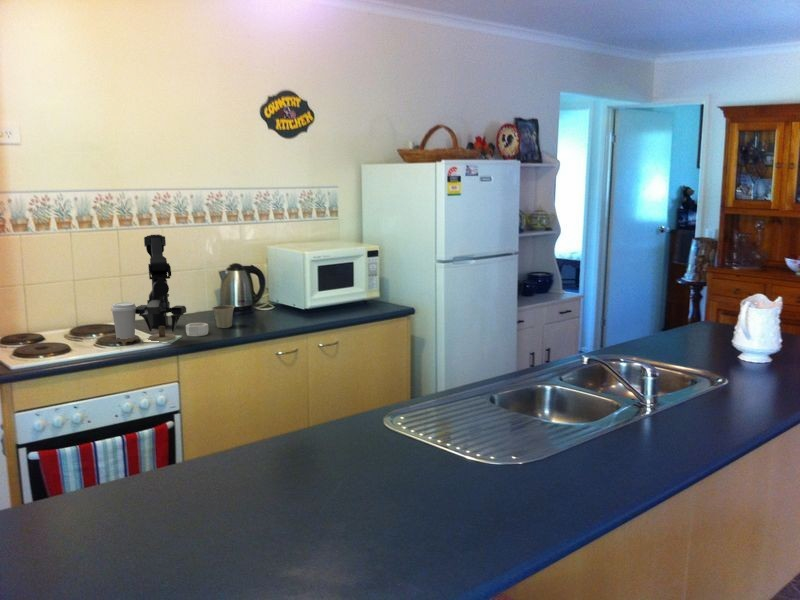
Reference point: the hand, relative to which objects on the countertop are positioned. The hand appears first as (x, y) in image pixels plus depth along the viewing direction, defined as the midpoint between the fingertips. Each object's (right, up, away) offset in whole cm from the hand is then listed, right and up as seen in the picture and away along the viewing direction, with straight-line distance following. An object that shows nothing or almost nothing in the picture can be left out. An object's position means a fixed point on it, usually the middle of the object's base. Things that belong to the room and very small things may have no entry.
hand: (162, 331), depth 291 cm
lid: (0, -3, 0) cm, 3 cm away
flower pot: (+18, 0, +26) cm, 32 cm away
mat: (0, -3, +1) cm, 4 cm away
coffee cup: (-13, -4, -3) cm, 14 cm away
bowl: (+11, -2, +11) cm, 16 cm away
